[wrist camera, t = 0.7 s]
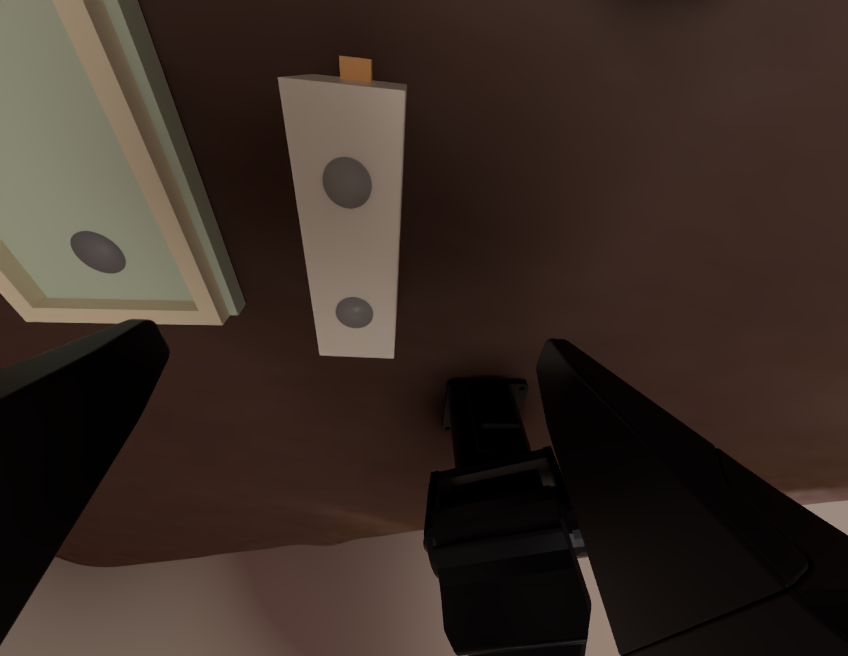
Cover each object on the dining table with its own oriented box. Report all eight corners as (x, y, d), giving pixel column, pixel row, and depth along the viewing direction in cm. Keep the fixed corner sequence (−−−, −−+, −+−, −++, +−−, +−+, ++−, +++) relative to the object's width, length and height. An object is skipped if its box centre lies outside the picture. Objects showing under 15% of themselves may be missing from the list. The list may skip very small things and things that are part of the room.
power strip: (396, 306, 22) (393, 359, 18) (336, 303, 22) (319, 356, 18) (407, 63, 14) (406, 63, 10) (312, 52, 14) (271, 47, 10)
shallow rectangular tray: (245, 304, 21) (231, 325, 19) (50, 300, 21) (17, 321, 19) (71, -185, 10) (1, -237, 8) (-373, -227, 9) (-549, -292, 8)
